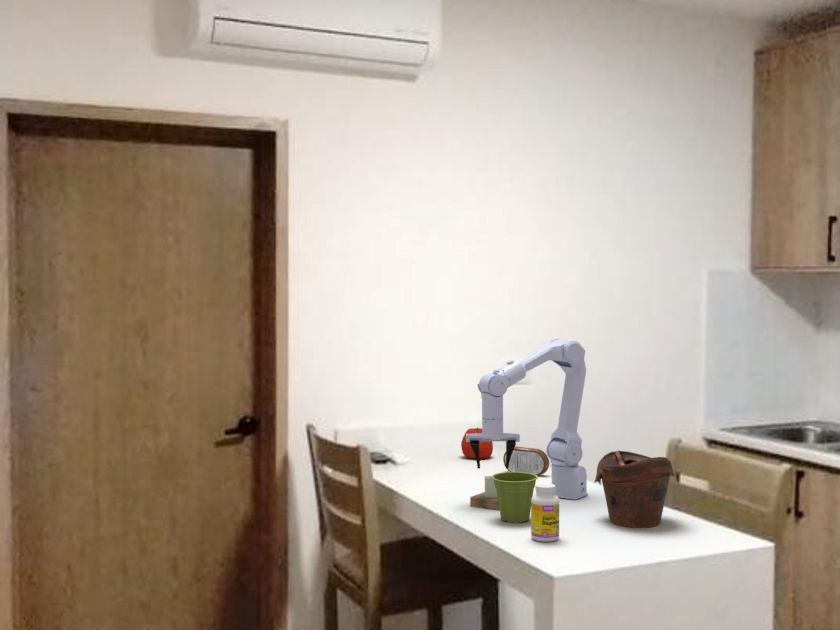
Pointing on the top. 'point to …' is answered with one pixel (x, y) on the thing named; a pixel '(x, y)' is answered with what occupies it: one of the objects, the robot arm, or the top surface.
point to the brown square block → (484, 502)
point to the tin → (528, 461)
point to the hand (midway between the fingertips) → (492, 467)
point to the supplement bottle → (545, 513)
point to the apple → (484, 446)
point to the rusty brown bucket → (634, 487)
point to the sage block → (490, 488)
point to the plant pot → (514, 495)
